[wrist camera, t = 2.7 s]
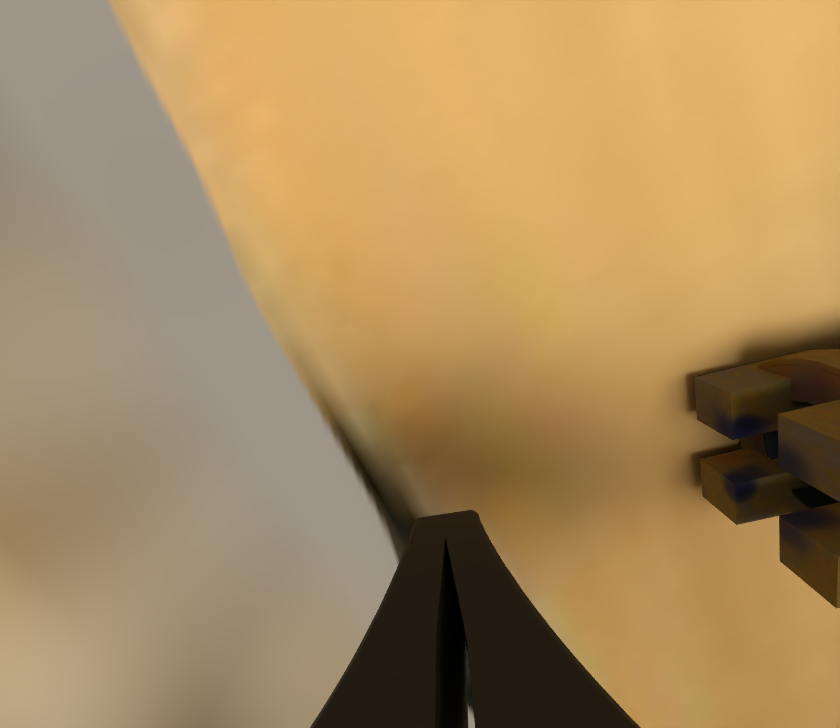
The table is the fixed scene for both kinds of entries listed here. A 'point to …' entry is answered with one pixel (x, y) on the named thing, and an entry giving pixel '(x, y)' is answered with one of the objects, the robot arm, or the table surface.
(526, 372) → the table surface
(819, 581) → the pipe connector
